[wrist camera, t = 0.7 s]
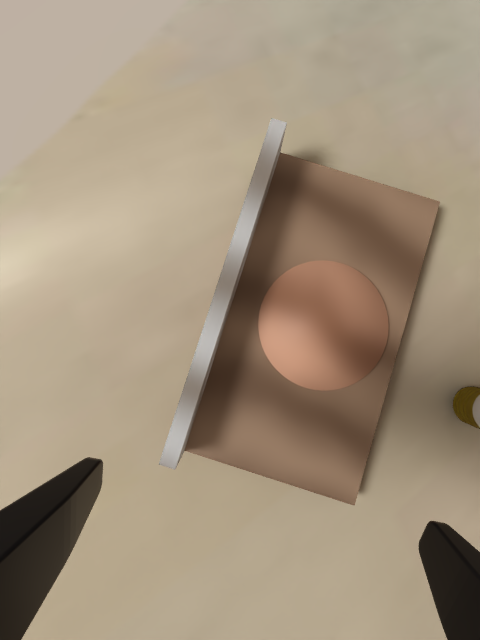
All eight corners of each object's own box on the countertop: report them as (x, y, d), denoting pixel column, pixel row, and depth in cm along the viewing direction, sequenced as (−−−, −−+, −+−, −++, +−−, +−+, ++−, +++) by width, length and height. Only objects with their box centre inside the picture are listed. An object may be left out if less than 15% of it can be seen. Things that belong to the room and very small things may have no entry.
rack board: (346, 493, 22) (374, 534, 17) (175, 438, 22) (158, 464, 17) (426, 210, 23) (472, 179, 19) (265, 160, 23) (271, 118, 19)
